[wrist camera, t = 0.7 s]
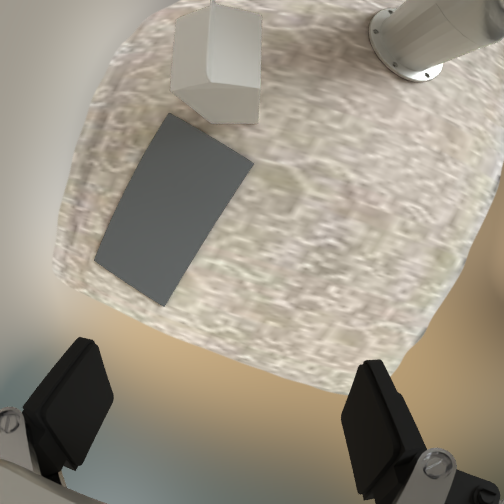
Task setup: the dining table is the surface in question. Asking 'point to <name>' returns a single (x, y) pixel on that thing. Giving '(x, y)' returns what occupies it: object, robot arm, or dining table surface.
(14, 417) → the robot arm
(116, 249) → the mat
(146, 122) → the dining table surface
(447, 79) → the dining table surface
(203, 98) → the milk
